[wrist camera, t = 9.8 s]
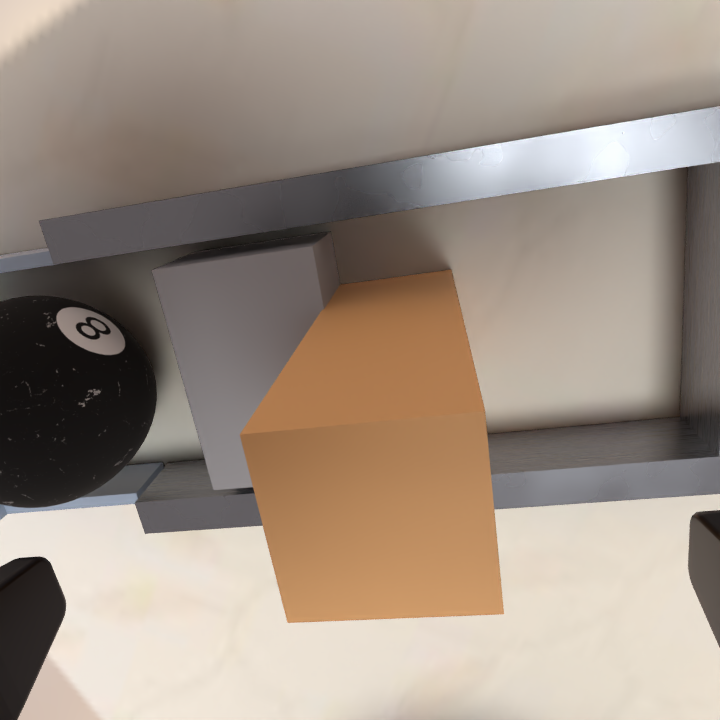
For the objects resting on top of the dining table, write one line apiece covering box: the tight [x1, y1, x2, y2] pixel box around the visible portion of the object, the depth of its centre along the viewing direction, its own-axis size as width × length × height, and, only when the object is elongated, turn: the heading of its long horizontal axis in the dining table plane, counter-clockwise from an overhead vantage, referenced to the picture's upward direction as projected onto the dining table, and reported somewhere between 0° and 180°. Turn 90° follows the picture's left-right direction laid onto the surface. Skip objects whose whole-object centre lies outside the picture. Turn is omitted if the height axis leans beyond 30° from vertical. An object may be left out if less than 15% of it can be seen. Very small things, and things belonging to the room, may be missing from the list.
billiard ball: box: [0, 296, 157, 508], centre depth 16 cm, size 6×6×6 cm
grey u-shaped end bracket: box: [0, 248, 164, 520], centre depth 18 cm, size 6×8×4 cm
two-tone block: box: [152, 231, 504, 623], centre depth 13 cm, size 8×7×10 cm
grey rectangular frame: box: [39, 106, 720, 534], centre depth 16 cm, size 19×10×2 cm, turn 99°
